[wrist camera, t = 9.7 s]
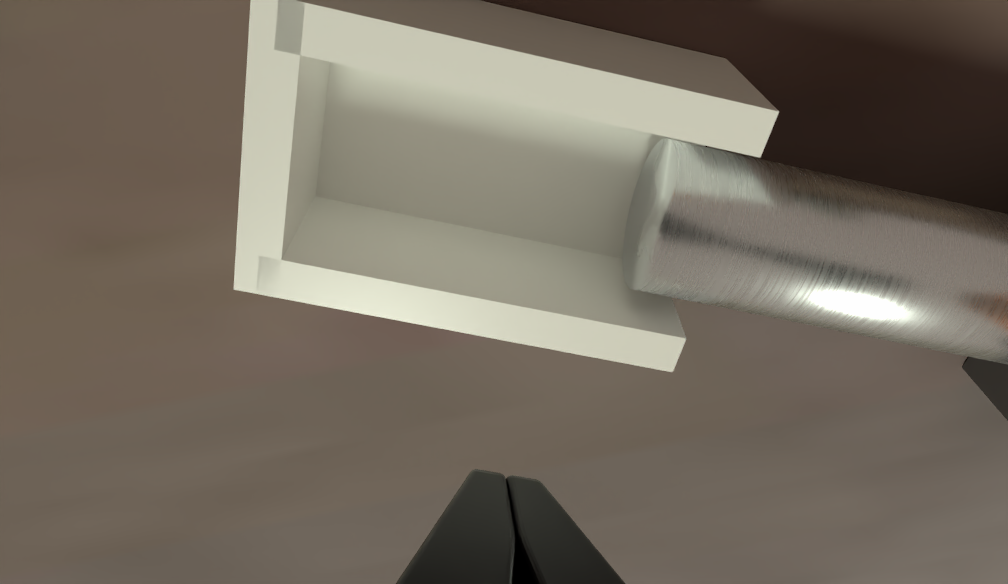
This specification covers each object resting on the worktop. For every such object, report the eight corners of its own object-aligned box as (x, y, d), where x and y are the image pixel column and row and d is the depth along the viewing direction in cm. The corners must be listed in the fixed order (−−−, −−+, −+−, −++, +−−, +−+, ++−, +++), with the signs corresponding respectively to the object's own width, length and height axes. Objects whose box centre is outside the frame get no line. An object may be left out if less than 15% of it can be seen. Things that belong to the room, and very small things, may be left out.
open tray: (281, 209, 22) (233, 289, 18) (303, -42, 18) (251, -10, 15) (644, 282, 23) (672, 372, 19) (726, 58, 20) (779, 111, 16)
